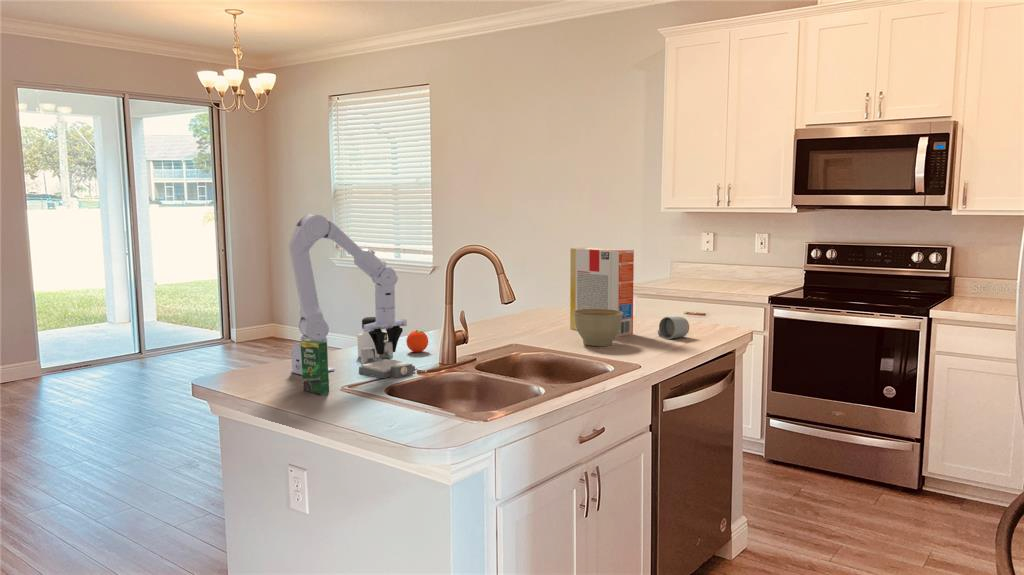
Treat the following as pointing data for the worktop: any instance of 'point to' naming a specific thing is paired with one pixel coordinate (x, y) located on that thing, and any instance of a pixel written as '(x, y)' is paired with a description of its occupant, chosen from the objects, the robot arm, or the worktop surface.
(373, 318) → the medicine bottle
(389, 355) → the spacer
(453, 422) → the worktop surface
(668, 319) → the ceramic mug
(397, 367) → the scale
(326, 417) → the worktop surface
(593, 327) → the planter bowl
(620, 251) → the cereal box
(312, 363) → the green cardboard box
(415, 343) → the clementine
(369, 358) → the spacer
